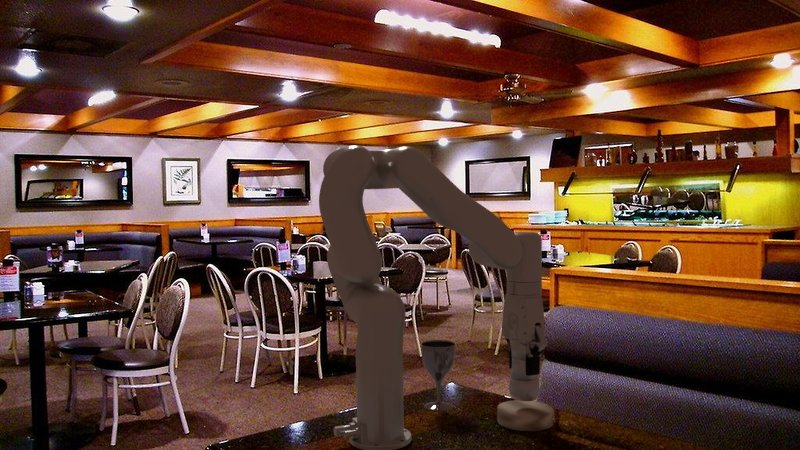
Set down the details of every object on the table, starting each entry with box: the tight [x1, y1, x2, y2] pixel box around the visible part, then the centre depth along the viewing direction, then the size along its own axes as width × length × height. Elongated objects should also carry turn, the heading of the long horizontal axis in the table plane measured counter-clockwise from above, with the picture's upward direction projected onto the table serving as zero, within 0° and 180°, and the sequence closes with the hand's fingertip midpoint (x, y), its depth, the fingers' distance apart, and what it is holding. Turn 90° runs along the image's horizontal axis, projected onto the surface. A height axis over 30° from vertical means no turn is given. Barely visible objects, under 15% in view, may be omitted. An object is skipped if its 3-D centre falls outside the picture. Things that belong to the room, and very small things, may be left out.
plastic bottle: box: [508, 329, 540, 401], centre depth 146 cm, size 6×7×20 cm
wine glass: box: [420, 339, 456, 412], centre depth 158 cm, size 8×8×15 cm
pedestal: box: [496, 399, 554, 432], centre depth 146 cm, size 12×12×3 cm
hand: (524, 370), depth 146 cm, fingers open, 5 cm apart
